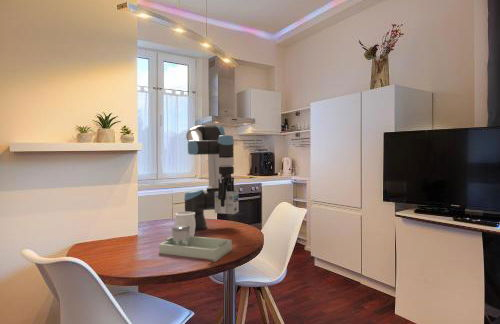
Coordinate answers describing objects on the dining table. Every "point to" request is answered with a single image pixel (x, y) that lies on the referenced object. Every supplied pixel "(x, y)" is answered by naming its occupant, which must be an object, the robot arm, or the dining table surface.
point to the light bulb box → (228, 202)
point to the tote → (198, 248)
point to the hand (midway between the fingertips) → (226, 211)
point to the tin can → (181, 236)
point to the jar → (186, 220)
